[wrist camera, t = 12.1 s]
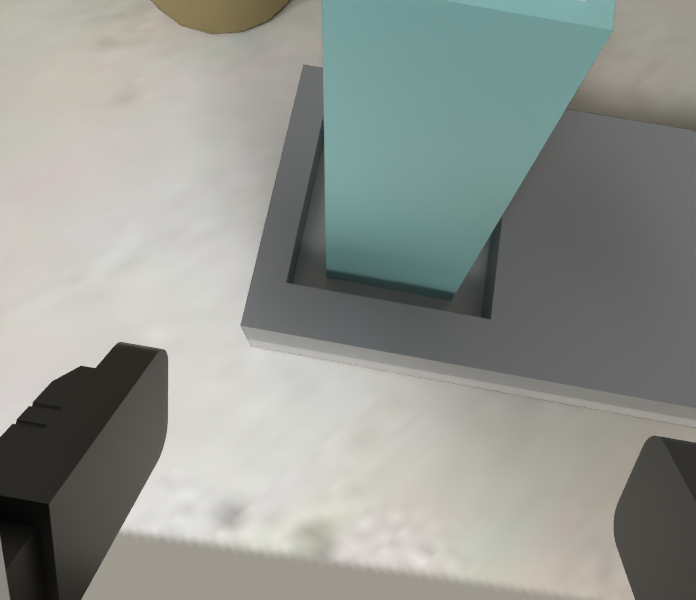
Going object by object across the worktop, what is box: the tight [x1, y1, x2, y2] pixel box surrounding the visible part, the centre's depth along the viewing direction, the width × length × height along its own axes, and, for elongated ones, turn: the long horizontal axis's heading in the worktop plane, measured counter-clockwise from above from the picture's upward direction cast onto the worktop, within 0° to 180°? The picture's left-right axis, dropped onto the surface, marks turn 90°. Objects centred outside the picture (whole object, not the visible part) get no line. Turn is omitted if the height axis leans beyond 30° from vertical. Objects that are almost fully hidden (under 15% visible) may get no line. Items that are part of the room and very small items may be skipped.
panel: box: [241, 65, 696, 427], centre depth 20 cm, size 20×9×2 cm, turn 80°
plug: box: [322, 0, 615, 301], centre depth 15 cm, size 4×5×13 cm
